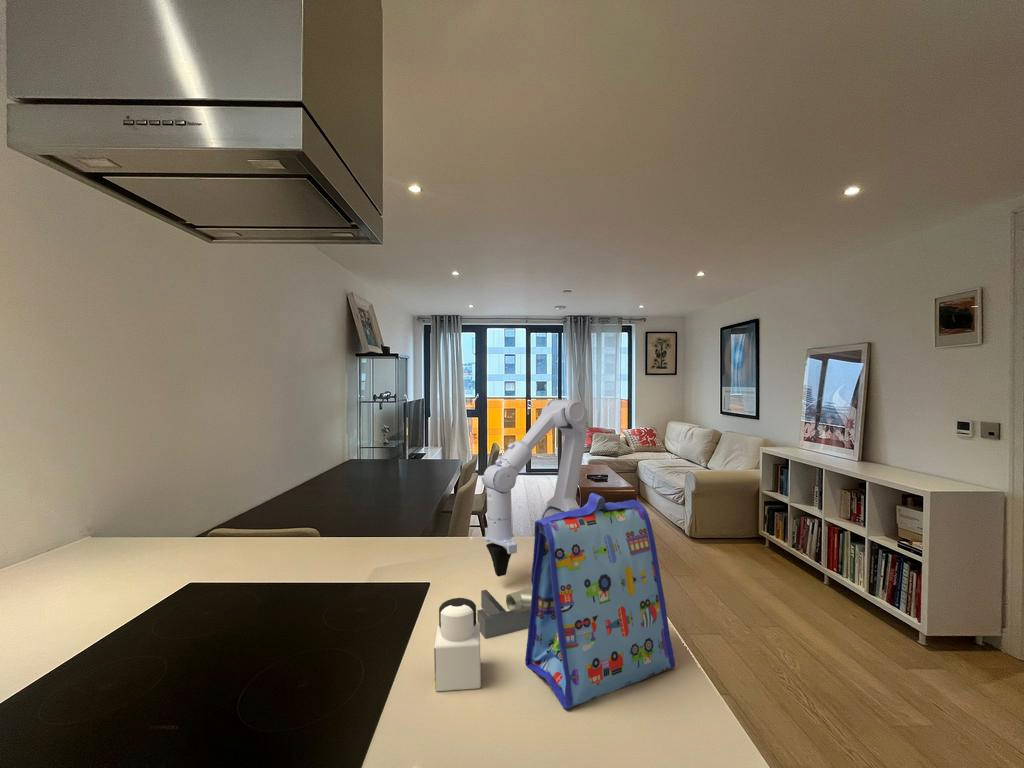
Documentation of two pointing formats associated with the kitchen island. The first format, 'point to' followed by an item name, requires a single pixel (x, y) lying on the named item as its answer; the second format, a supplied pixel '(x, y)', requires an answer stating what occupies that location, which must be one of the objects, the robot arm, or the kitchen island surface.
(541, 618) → the lunch bag
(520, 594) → the pipe fitting
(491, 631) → the grey angle bracket
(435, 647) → the medicine bottle
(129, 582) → the kitchen island surface
